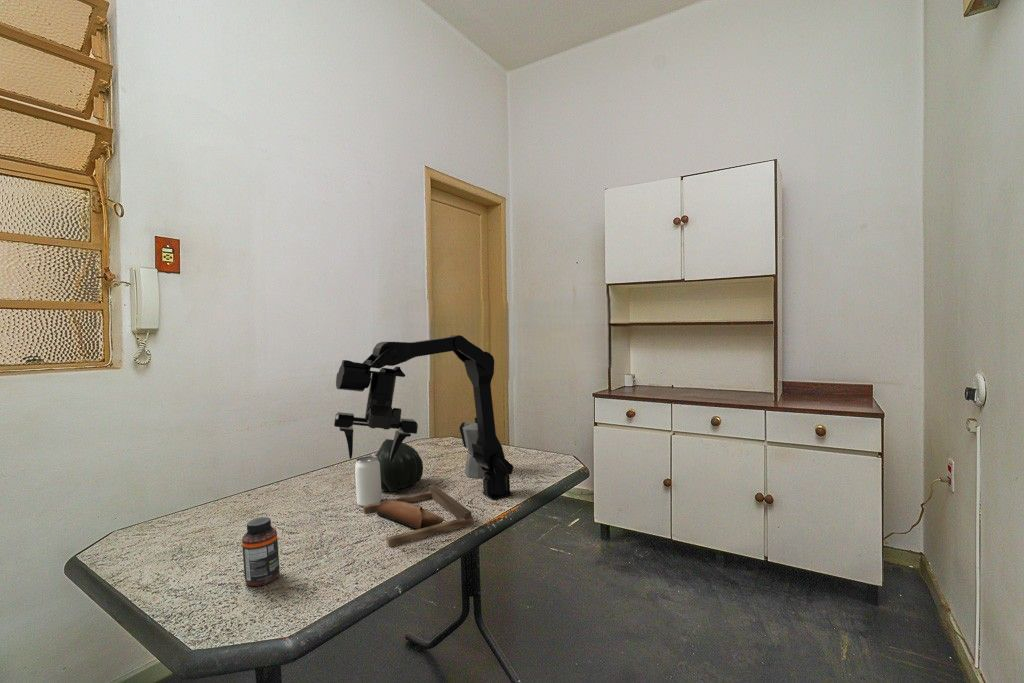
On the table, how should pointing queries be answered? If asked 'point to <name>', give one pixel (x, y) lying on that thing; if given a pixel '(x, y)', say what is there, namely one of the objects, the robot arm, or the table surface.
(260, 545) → the supplement bottle
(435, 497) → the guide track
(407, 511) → the sunglasses case
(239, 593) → the table surface
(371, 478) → the can
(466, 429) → the coffeepot
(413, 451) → the squash
